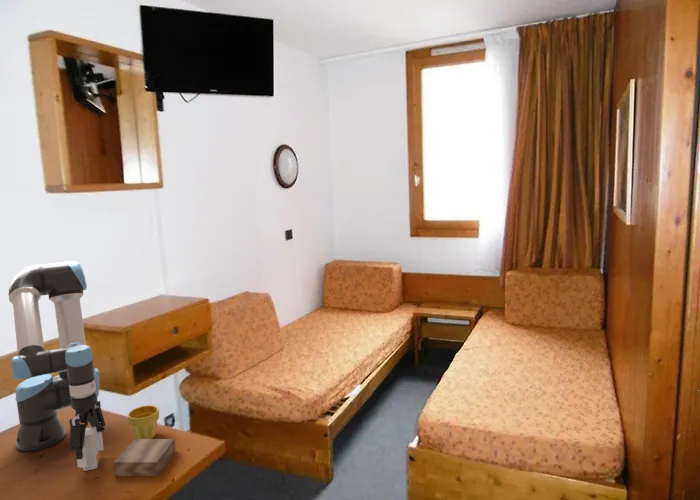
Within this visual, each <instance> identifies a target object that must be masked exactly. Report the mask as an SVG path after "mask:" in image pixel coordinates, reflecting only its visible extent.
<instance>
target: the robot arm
mask: <svg viewBox="0 0 700 500" xmlns="http://www.w3.org/2000/svg"><path fill="white" fill-rule="evenodd" d="M87 288H88V287H87V280H86V277H85V274H84V270H83V268H82V266H81V264H80V263H79V262H78V261H62V262H54V263H45V264H34V265H31V266H28V267H26V268H24V269H22V270H21V271H20V272H19V273H18V274H17V275H16V276H15V277H14V278H13V280H12V282H11V284H10V286H9V287H8V300H9V302H10V303H11V304H12V306H13V317H14V329H15V339H16V350H17V355H16V356H13V357H11V358H10V368H11V375H12V378H13V379H14V380H16V381H19V380H23V381H22V382H21V383H19V384H18V385H17V386H16V388H15V402H16V405H17V406H16V408H17V413H18V422H19V428H18V431H17V436H16V440H15V444H16V449H17V448H18V449H17V450H19V451H22V452H34V451H39V450H43V449H46V448H49V447H51V446H54V445H56V444H58V443H59V442H61V441H62V440H63V439H64V438H65V436H66V429H65V427H64V425H63V423H62V422H61V419H60V418H59V416H58V412H57V410H62V409H65V408H70V407H71V409H72V410H74V411H75V415H74V418H70V419H69V427H70V433H69V439H70V440H69V451H71V452H73V451H74V452H75V458H76V462H77V463H76V464H77V468H83V467H87V459H86V450H85V447H83V445H84V438H85V432H86V428H88V425H90V426H91V427H95V426H96V431H97V440H98V449H99V452H100V451H101V452H102V451H104V442H103V431H105V428H106V427H105V426H106V421H105V419H104V415H103V412H102V411H103V410H102V407H101V406H102V405H101V401H100V400H98V398H99V395H100V371H99V369H98V368H97V367H96V368H95V366H94V355H93V352H92V348H91V346H89V345H87V342H86V341H87V340H86V334H85V327H84V321H83V313H82V306H81V298H82V297H83V296H84V291H86V290H87ZM41 296H48V300H49V301H51V302H52V303H54V310H55V320H56V326H57V333H58V342H59V348H54V349H49V350H48V349H47V350H45V342H44V337H43V330H42V329H43V327H42V322H41V321H42V319H41V314H40V313H41V312H40V306H39V301H40V299H41ZM53 373H58V376H57V377H54V376H53V375H52V374H53Z"/></svg>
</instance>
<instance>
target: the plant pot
mask: <svg viewBox="0 0 700 500" xmlns="http://www.w3.org/2000/svg"><path fill="white" fill-rule="evenodd" d="M159 419H160V411H159V407H158V406H156V405H151V404H149V405H141V406H139V407H135V408H133V409H132V410H130V411H129V412H128V413H127V420H128V421H127V422H128V424H129V426H131V429H132V431H133V434H134V436H135V439H154V437H155V436H156V433H157V425H158V420H159Z"/></svg>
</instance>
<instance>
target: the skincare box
mask: <svg viewBox="0 0 700 500" xmlns="http://www.w3.org/2000/svg"><path fill="white" fill-rule="evenodd" d="M83 447H85V450H86V459H87V467H82V470H83V471H84V472H86V471H90V470H96V469H98V467H99V463H100V451H99V449H98V440H97V431H96V426H95V427H92V426H91V427H86V432H85V438H84V445H83Z"/></svg>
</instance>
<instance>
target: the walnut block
mask: <svg viewBox="0 0 700 500" xmlns="http://www.w3.org/2000/svg"><path fill="white" fill-rule="evenodd" d="M175 442H176V441H175V438H151V439H136V438H135V439H133V440H132V442H131V443H130V444H128V446H127V447H126V448H125V449H124V450H123V451H122V452H121V453H120V455H119V456H118V457H117V458H116V459H115V460H114V461H113V463H112V464H113V469H114V476H116V477H117V476H119V477H120V476H121V477H124V476H125V477H126V476H128V477H129V476H130V477H131V476H133V477H134V476H136V477H140V476H142V477H143V476H144V477H146V476H148V477H149V476H151V477H157V476H159V475H160V474H161V472H162V471H163V469H164V468H165V467H166V465H167V464H168V463H169V461H170V460H171V458H172V457H173V456H174V454H175V453H176V452H175V451H176V443H175ZM172 455H173V456H172Z"/></svg>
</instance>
